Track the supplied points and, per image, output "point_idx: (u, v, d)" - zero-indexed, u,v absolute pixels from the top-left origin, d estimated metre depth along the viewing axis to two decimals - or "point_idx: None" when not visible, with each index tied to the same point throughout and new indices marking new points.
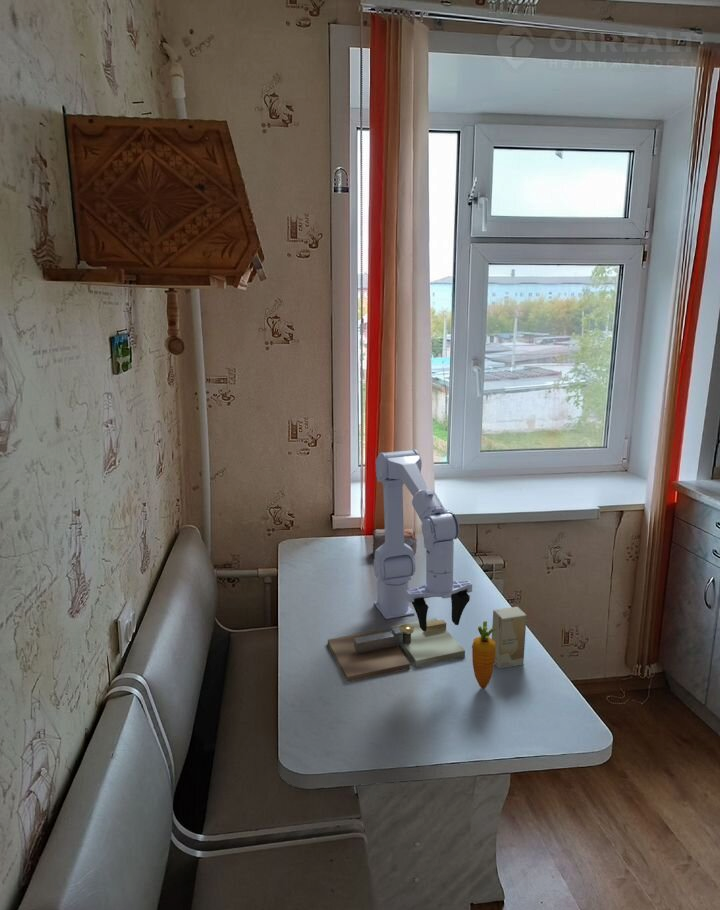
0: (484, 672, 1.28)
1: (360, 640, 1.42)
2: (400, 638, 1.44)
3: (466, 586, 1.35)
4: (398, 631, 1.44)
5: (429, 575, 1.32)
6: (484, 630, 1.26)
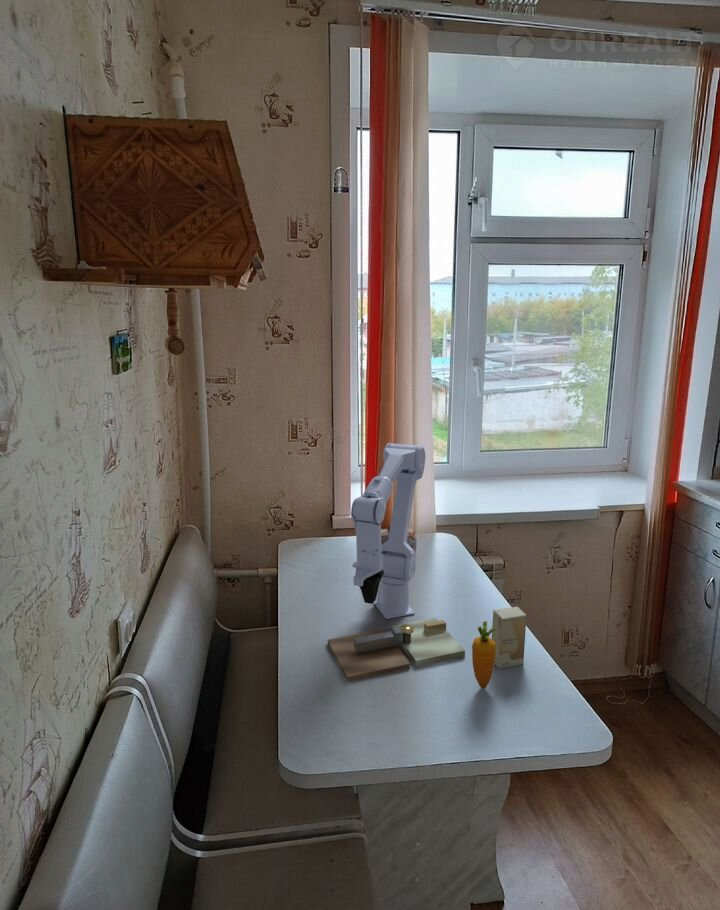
0: (484, 672, 1.28)
1: (360, 640, 1.42)
2: (400, 638, 1.44)
3: (355, 575, 1.41)
4: (398, 631, 1.44)
5: None
6: (484, 630, 1.26)
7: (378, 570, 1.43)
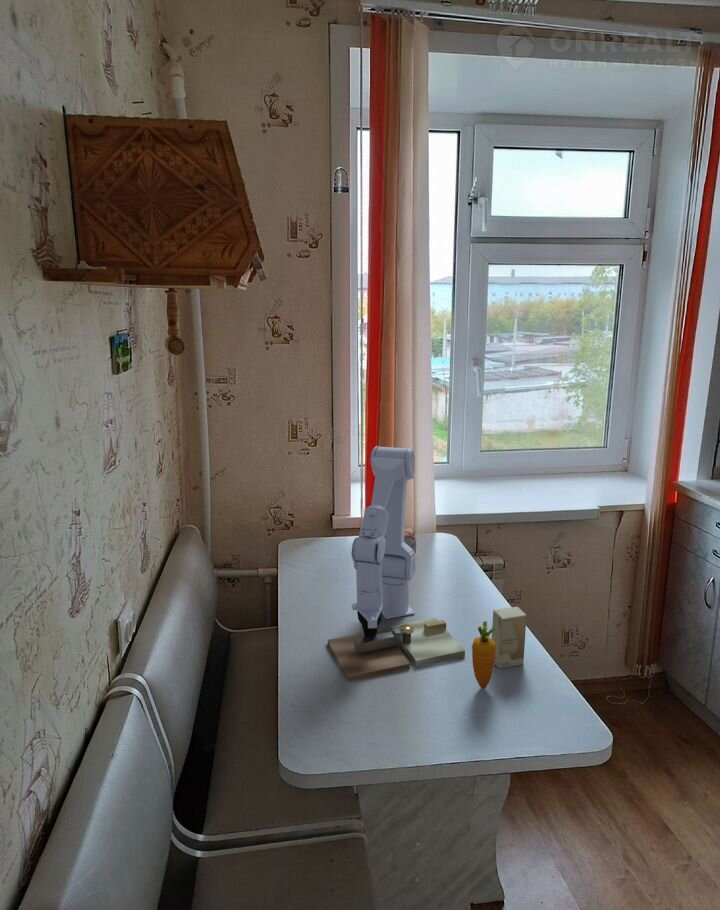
0: (484, 672, 1.28)
1: (361, 641, 1.42)
2: (401, 638, 1.44)
3: (366, 618, 1.38)
4: (398, 631, 1.44)
5: None
6: (484, 630, 1.26)
7: (382, 608, 1.42)
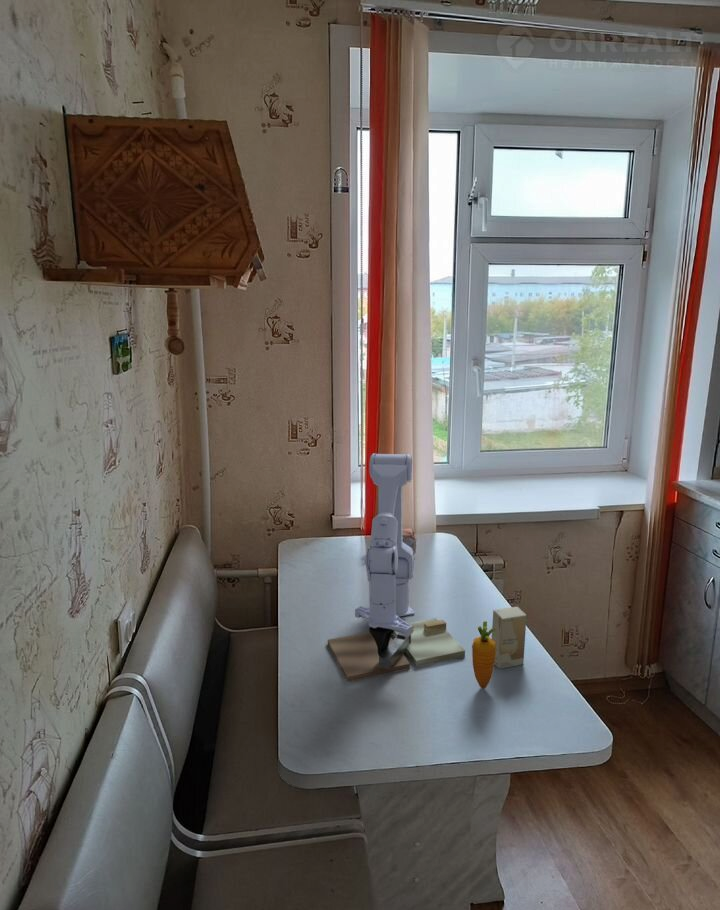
0: (484, 672, 1.28)
1: (387, 656, 1.36)
2: (408, 639, 1.44)
3: (400, 628, 1.33)
4: None
5: None
6: (484, 630, 1.26)
7: None
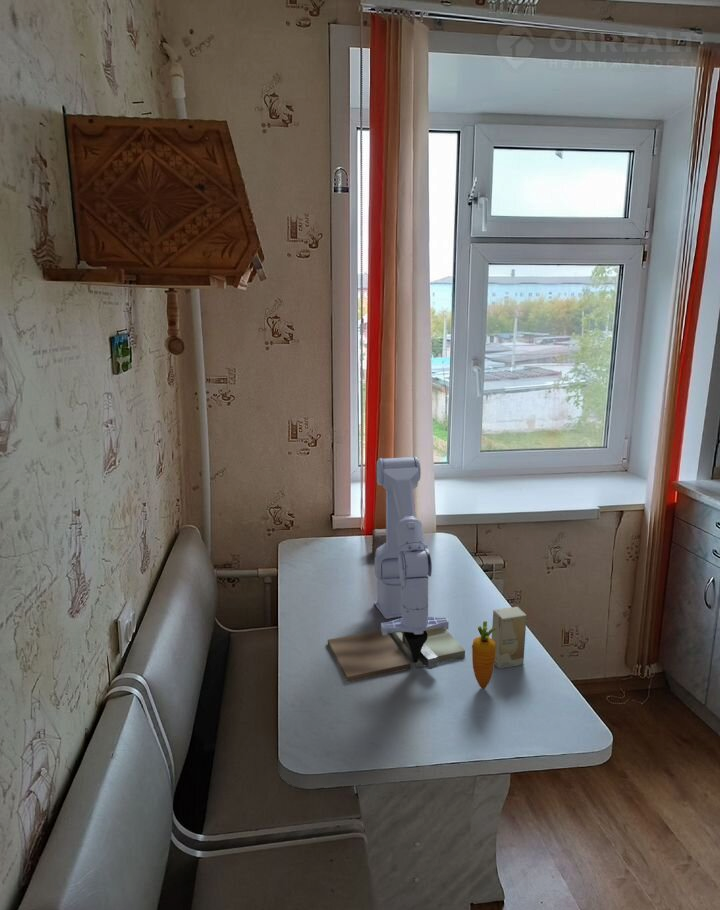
0: (484, 672, 1.28)
1: (432, 655, 1.36)
2: None
3: (442, 623, 1.35)
4: None
5: (403, 610, 1.33)
6: (484, 630, 1.26)
7: None
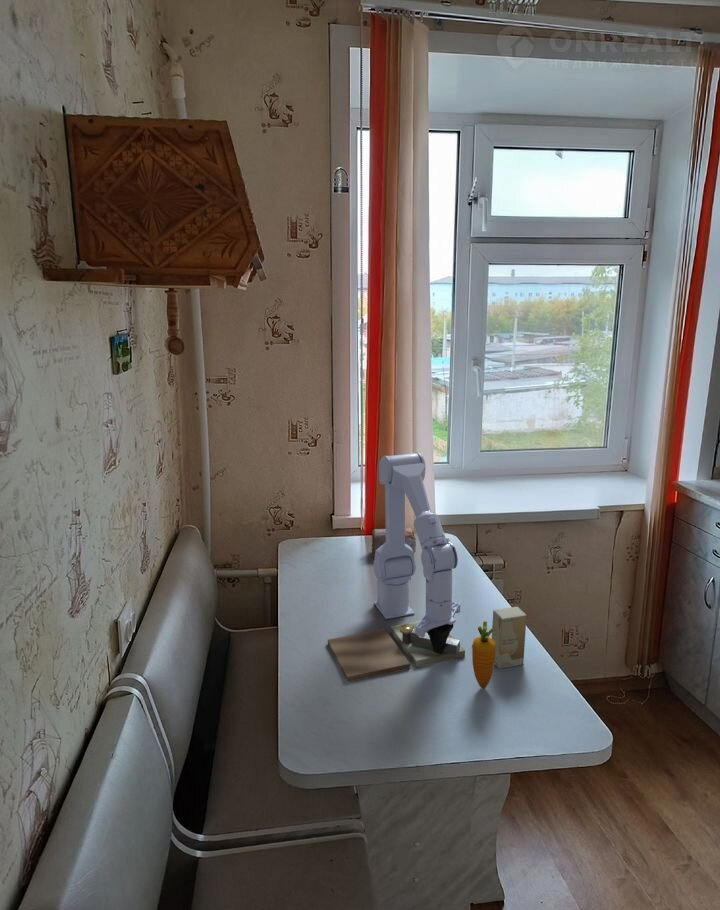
0: (484, 672, 1.28)
1: (454, 640, 1.41)
2: None
3: (457, 607, 1.42)
4: None
5: (434, 606, 1.35)
6: (484, 630, 1.26)
7: None
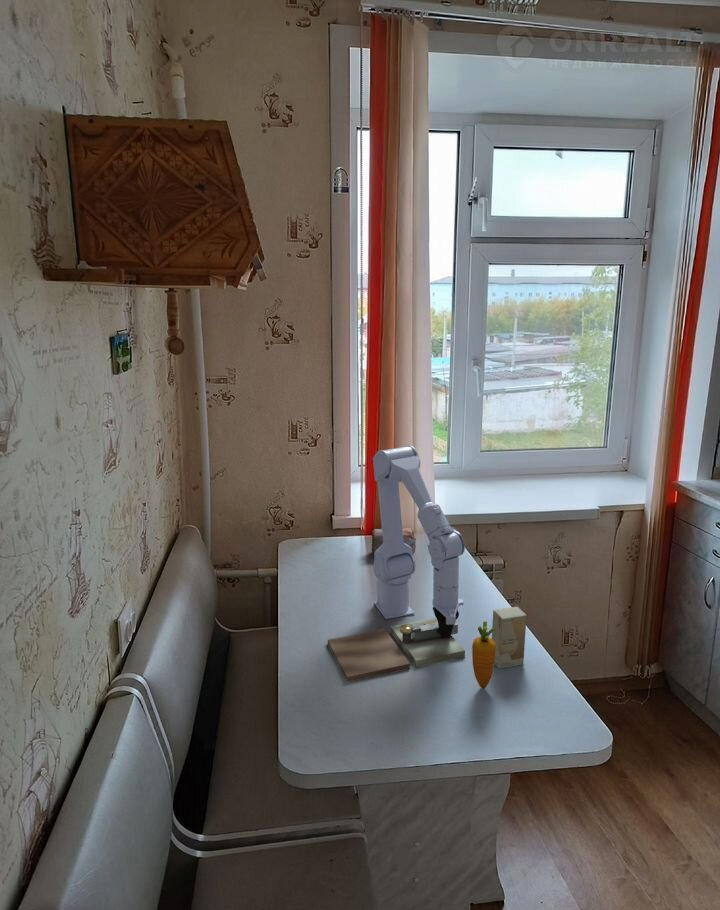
0: (484, 672, 1.28)
1: None
2: None
3: None
4: (414, 626, 1.47)
5: (451, 592, 1.41)
6: (484, 630, 1.26)
7: None
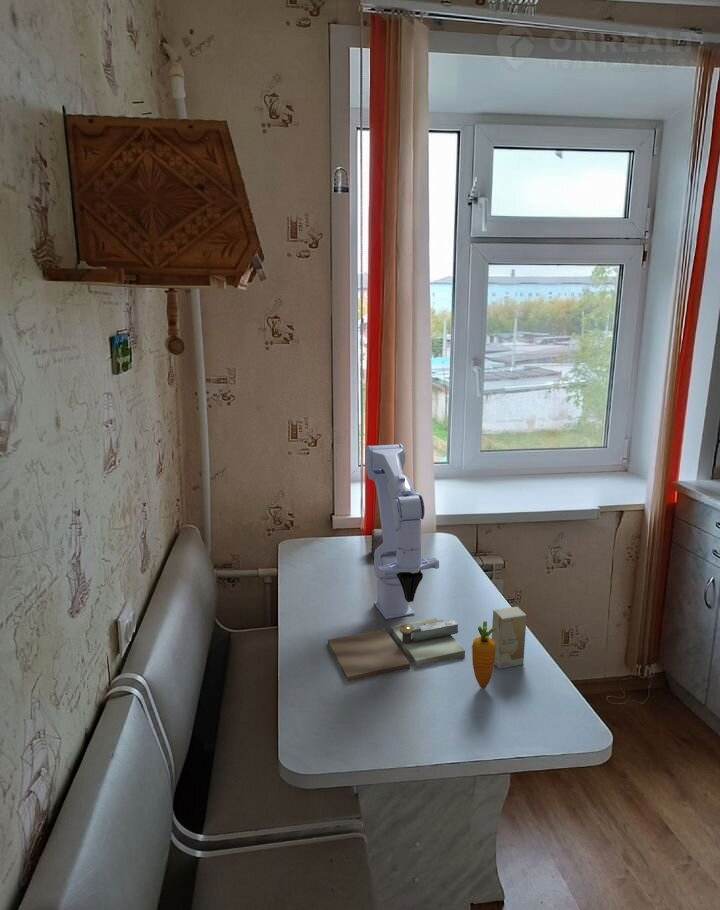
0: (484, 672, 1.28)
1: (450, 621, 1.49)
2: None
3: (433, 562, 1.46)
4: (414, 626, 1.47)
5: (399, 552, 1.43)
6: (484, 630, 1.26)
7: None
